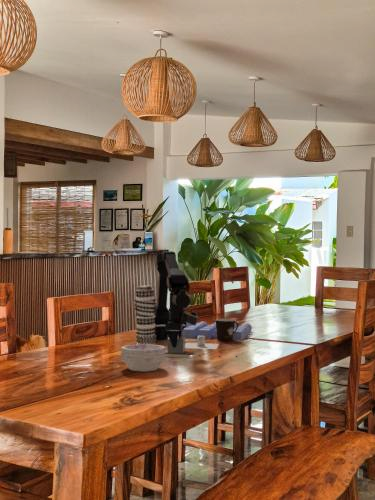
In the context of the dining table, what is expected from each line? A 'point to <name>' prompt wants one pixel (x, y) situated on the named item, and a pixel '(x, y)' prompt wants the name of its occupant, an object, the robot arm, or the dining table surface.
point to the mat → (177, 355)
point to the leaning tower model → (145, 315)
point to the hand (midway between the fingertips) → (176, 345)
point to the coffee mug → (225, 329)
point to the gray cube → (179, 347)
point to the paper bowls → (143, 357)
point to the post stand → (201, 344)
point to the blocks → (213, 331)
